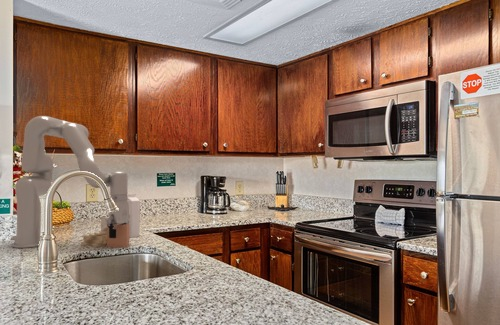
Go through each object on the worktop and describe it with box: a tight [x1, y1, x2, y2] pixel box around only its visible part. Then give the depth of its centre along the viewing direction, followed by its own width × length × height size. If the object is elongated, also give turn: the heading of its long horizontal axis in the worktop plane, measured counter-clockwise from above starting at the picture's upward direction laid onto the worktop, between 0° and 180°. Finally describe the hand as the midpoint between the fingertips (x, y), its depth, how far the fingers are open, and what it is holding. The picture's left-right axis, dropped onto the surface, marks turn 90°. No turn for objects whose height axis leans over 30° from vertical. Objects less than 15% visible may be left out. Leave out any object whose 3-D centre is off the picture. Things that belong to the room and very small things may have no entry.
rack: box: [80, 216, 109, 247], centre depth 186 cm, size 12×18×11 cm, turn 167°
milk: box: [127, 193, 141, 239], centre depth 203 cm, size 6×6×22 cm
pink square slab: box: [106, 224, 130, 248], centre depth 176 cm, size 10×2×10 cm, turn 77°
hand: (118, 236), depth 176 cm, fingers open, 9 cm apart
